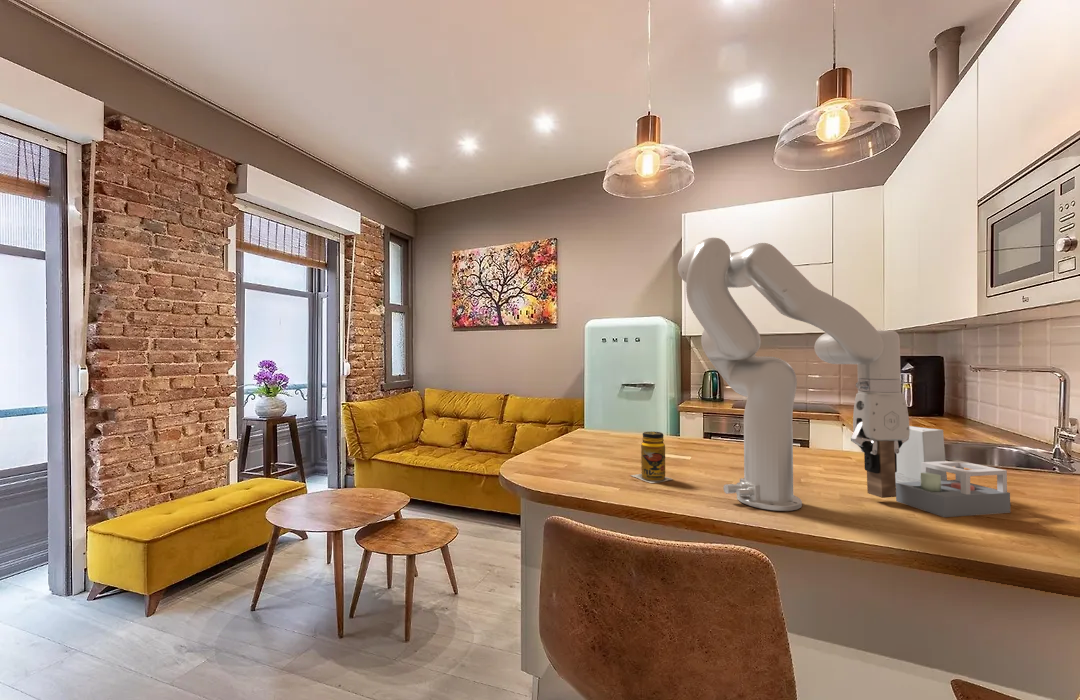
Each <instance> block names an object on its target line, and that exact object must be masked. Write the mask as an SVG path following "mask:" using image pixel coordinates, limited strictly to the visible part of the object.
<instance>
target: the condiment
mask: <svg viewBox="0 0 1080 700" xmlns="http://www.w3.org/2000/svg"><path fill="white" fill-rule="evenodd" d="M664 436H665V435H664V433H663V432H661V431H644V432H643V433H642V443H641V444H640V455H641V456H640V457H641V462H640V464H641V466H640V467H641V473H639V474H637V473H636V474H630V477H633V478H636V479H639V480H641V481H643V482H646V483H650V484H654V483H655V484H656V483H664V482H667V481H672V480H673V478H670V477H668V476H666V445H665V442H664Z"/></svg>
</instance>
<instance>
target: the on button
mask: <svg viewBox="0 0 1080 700" xmlns="http://www.w3.org/2000/svg"><path fill="white" fill-rule="evenodd" d="M921 489H923V490H926V491H930V492H941V475H939V474H934V473H926V472H922V473H921Z"/></svg>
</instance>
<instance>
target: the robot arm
mask: <svg viewBox="0 0 1080 700" xmlns="http://www.w3.org/2000/svg"><path fill="white" fill-rule="evenodd" d="M677 271H678V272H677V273H678V275H679V277H680V278H681V280H682V281H684V282H685V287H686V288H685V290H686V291H685V292H686V293H685V294H686V298H687V302H688V304H689V308H690V310H691V312H692V314H694V316H695V318H696V319H697V321H698V322H699V323H700V325H701V326H702V328H703V331H702V334H701V338H700V343H701V347H702V351H703V352H704V354H705V356H706V358H707V359H708V360H709V362H710V363H711V365H712V366H713V367H714V368H715V370H716V371H717V372H718V373H719V375H720V376H721V377H722V379H723V381H725V382H726V384H727V385H728V386H729V387H730V389H732V390H733V391H734V392H735V393H737V394H739V395H740V396H744V397H746V402H745V407H744V411H743V468H744V469H743V474H744V475H743V477H744V478H743V477H742V478H739V482H737V483H736V484H734V483H729V484H728V483H726V484H724V485H723V492H724V493H725V494H736V498H737V500H738V501H739V502H741V503H742V504H744V505H747V506H750V507H753V508H756V509H760V510H766V511H767V510H768V511H774V512H775V511H778V512H789V511H796V510H799V509H800V508H802V506H803V501H802V499H801V498H799V497H798V496H796V495H795V494H794V452H793V451H794V446H793V445H794V444H793V443H794V442H793V441H794V436H793V435H794V433H793V432H794V431H793V417H794V416H793V413H794V412H793V410H794V405H795V404H794V402H795V398H796V392H797V387H798V386H797V385H798V384H797V383H798V381H797V378H798V377H797V375H796V372H795V370H794V368H793V366H792V365H791V364H789V362H788V361H786V360H784V359H782V358H779V357H775V356H765V355H764V356H762V355H760V356H757V355H756V354H757V352H758V351H759V350H760V347H761V344H762V339H761V335H760V333H759V331H758V329H757V327H756V326H755V325H754V323H752V321H751V320H750V319H749V318H748V316H747V315H746V314H745V312H744V311H743V310H742V308H741V307H740V306H739V304H738V303H737V302H736V300H735V299H734V298H733V296H732V295H731V292H730V291H729V288H733V289H734V288H737V289H738V288H747V287H751V286H753V288H755V289H756V290H757V291H758V292H759V293H760V294H761V295H762V296H763V297H764V298H765V299H766V300H767V302H769V303H770V305H772V307H774V308H775V310H776V311H778V313H780V314H781V315H782V316H785V317H788V318H790V319H793V320H796V321H800V322H803V323H806V324H809V325H812V326H814V327H816V328H818V329H819V330H821V331H822V332H824V333H823V334H822V335H820V336H819V337H818V338H816V340H815V343H814V352H815V355H816V356H817V357H818V358H819V359H820V360H821V361H823V362H825V363H828V364H831V365H857V366H856V369H857V370H856V371H857V382H856V383H855V387H856V389H857V393H856V394H855V399H854V405H853V412H852V413H853V417H852V428H853V433H852V435H851V437H850V441H851V442H852V443H854V444H856V445H857V446H858V447H859V448H860V450H861V452H862V453H863V454H864V457H863V458H864V459H863V461H864V470H865V471H866V472H867V471H869V472H873V473H876V474H877V473H880V460H879V455H877V448H878V441H894V451H895V472H897V455H896V454H898V453H899V448H900V447H901V446H902V444H903V443H905V442H906V441H907V440H908V439H909V435H910V428H909V426H910V419H909V412H908V405H907V400H906V397H905V394H904V393H902V389H901V388H902V385H901V384H902V383H901V381H902V380H901V345H900V344H901V339H900V335H899V333H898V332H897V331H895V330H888V329H887V330H881V329H880V330H877V329H876V327H874V325H873V324H872V323H871V322H870V321H869V320H868V319H867V318H866V317H865V316H864V315H863V314H862V313H860V312H859V311H858V310H857V309H856V308H854V307H853V306H851V305H850V304H848V303H846V302H845V301H843V300H841V299H838V298H837V297H835V296H833V295H831V294H830V293H827V292H825V291H823V290H820V289H819V288H817V287H816V286H815V285H814V284H812V283H811V282H810V281H809V279H807V278H806V276H804V275H803V273H801V271H799V269H797V268H796V267H795V266H794V264H793V263H791V262H790V260H788V259H787V258H786V257H785V255H783V254H782V253H781V252H780V250H778V249H777V248H776V247H775V246H773V244H770V243H766V242H760V243H759V242H757V243H755V244H752V245H749V246H748V247H746V248H744V249H742V250H740V251H735V252H731V249H730V247H729V245H728V243H726V241H724V240H723V239H722V238H720V237H708V238H705V239H703V240H701V241H700V242H698V243H696V244H695V245H694V246H692V247H691V248H690V249H688V250H687V251H686V252H685V253H684V254H683V255H682V256H681V257H680V259H679V261H678V263H677ZM869 438H870V439H869ZM869 442H871V446H870V445H869Z"/></svg>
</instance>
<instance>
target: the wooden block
mask: <svg viewBox="0 0 1080 700" xmlns="http://www.w3.org/2000/svg"><path fill="white" fill-rule="evenodd" d="M869 439H870V438H869ZM869 445H870V446H871V442H869ZM877 455H879V460H880V473H877V474H876V473H873V472H869V471H866V485H867V487H866V488H867V494H868V495H872V496H875V497H879V498H882V499H883V498H884V499H885V498H886V499H887V498H896V478H895V451H894V441H878V448H877Z"/></svg>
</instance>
